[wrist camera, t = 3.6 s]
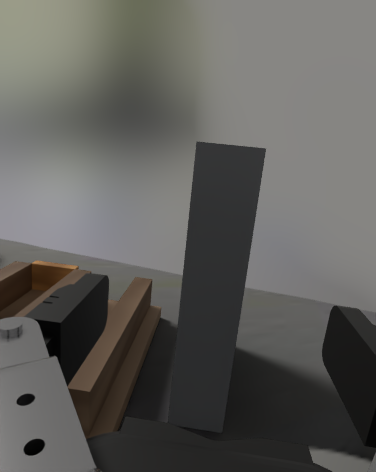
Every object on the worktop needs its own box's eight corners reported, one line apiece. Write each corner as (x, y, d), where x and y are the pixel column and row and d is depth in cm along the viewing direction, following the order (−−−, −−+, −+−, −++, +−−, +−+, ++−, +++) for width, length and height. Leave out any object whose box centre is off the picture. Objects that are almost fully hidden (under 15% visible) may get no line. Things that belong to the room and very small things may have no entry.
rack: (162, 312, 30) (165, 277, 29) (108, 456, 16) (111, 395, 15) (-43, 284, 31) (-46, 249, 31) (-264, 392, 17) (-281, 332, 16)
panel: (221, 341, 26) (248, 151, 23) (222, 433, 18) (266, 148, 14) (185, 336, 27) (205, 146, 23) (167, 424, 18) (196, 141, 14)
